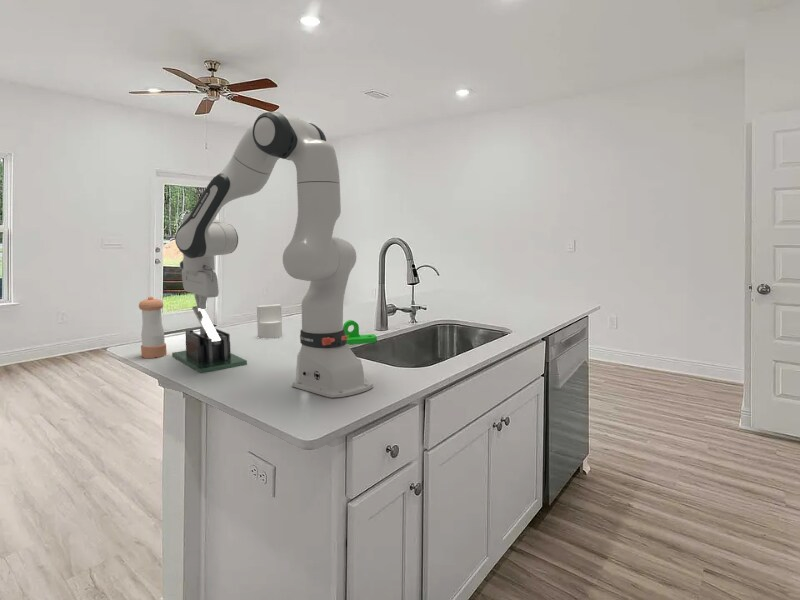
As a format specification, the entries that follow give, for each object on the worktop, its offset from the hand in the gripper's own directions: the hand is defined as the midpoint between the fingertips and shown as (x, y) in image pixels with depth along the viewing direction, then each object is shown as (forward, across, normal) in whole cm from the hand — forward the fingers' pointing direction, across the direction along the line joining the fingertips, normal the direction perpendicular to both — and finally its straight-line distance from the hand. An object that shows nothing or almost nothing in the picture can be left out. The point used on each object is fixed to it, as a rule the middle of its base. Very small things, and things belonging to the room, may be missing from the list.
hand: (201, 308), depth 154 cm
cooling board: (+16, -4, 0) cm, 16 cm away
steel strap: (+5, -4, 0) cm, 6 cm away
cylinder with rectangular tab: (+16, +15, -31) cm, 38 cm away
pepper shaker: (+16, +13, +11) cm, 23 cm away
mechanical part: (+16, -14, -52) cm, 57 cm away
